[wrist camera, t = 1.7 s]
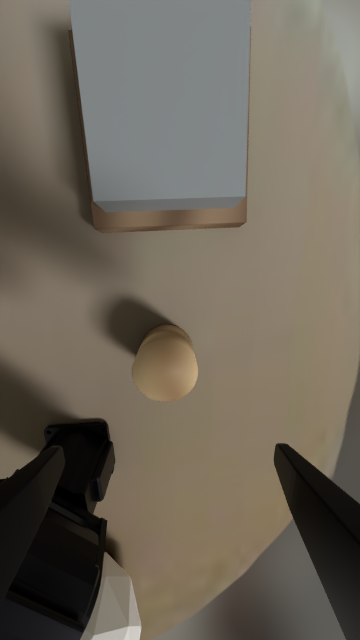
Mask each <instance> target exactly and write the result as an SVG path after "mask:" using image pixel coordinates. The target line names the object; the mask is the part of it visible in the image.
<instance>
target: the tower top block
mask: <svg viewBox="0 0 360 640" xmlns="http://www.w3.org/2000/svg"><path fill="white" fill-rule="evenodd" d="M69 7H70V15H71V24H72V32H73V40H74V48H75V56H76V64H77V72H78V80H79V88H80V97H81V105H82V113H83V121H84V129H85V137H86V145H87V153H88V162H89V170H90V178H91V186H92V194H93V202H95V203H96V204H97V205H98V206H99V207H100V208H101V209H102V210H104V211H105V212H131V211H160V210H189V209H219V208H235V207H236V206H237V205H238V204H239V203H240V202H241V201H242V199H243V198H244V197H245V195H246V161H247V128H248V94H249V60H250V26H251V0H69Z"/></svg>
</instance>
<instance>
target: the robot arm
mask: <svg viewBox="0 0 360 640" xmlns="http://www.w3.org/2000/svg"><path fill="white" fill-rule="evenodd" d="M102 427H104V428H102ZM49 430H50V431H49ZM44 434H45V439H46V443H47V444H46V445H45V447H44V448H43V449H42V451H41V452H40V453H39V455H38V456H37V457H36V458H35V459H33V460H32V461H31V462H29V463H28V464H27V465H25V466H24V467H23V468H21V469H20V470H18V469H17V470H16V471H15V472H14V474H13V475H12V476H11V477H9V478H8V477H7V478H6V479H0V640H80V639H81V637H82V635H83V633H84V631H85V629H86V627H87V624H88V622H89V620H90V617H91V615H92V612H93V609H94V606H95V603H96V600H97V597H98V593H99V589H100V585H101V578H102V570H103V559H104V549H105V538H106V528H107V520H105V519H104V518H99V517H97V516H95V515H94V514H93V513H94V510H95V507H96V504H97V502H100V501H102V500H103V499H104V496H105V493H106V490H107V486H108V483H109V480H110V477H111V474H112V473H113V471H114V464H115V455H114V448H113V443H112V441H110V435H109V428H108V424H107V423H105V422H97V423H80V424H64V425H50V426H48V427H47V428H46V429H45V430H44ZM274 465H275V468H276V471H277V474H278V477H279V480H280V483H281V486H282V488H283V491H284V494H285V497H286V500H287V503H288V506H289V509H290V511H291V514H292V516H293V518H294V520H295V523H296V525H297V528H298V530H299V532H300V535H301V537H302V539H303V541H304V544H305V546H306V548H307V550H308V553H309V555H310V558H311V560H312V562H313V564H314V567H315V569H316V571H317V574H318V576H319V578H320V580H321V583H322V585H323V587H324V590H325V592H326V594H327V597H328V599H329V601H330V603H331V606H332V608H333V610H334V613H335V615H336V617H337V620H338V622H339V624H340V626H341V629H342V631H343V633H344V636H345V638H346V640H360V504H359V503H358V502H357V501H356V500H354V499H353V498H352V497H350V495H348V494H347V493H346V492H345V491H343V490H342V489H341V488H340V487H339V486H337V485H336V484H335V483H334V482H333V481H331V480H330V479H329V478H328V477H327V476H325V475H324V474H323V473H322V472H320V471H319V470H318V469H317V468H316V467H314V466H313V465H312V464H311V463H310V462H308V461H307V460H306V459H305V458H303V457H302V456H301V455H300V454H299V453H297V452H296V451H295V450H294V449H293V448H291V447H290V446H289V445H288V444H285V443H278V444H276V446H275V453H274Z"/></svg>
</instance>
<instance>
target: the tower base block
mask: <svg viewBox="0 0 360 640" xmlns="http://www.w3.org/2000/svg"><path fill="white" fill-rule="evenodd" d="M68 31H69V39H70V47H71V54H72V62H73V70H74V77H75V85H76V93H77V100H78V108H79V116H80V124H81V131H82V139H83V147H84V154H85V162H86V170H87V177H88V185H89V193H90V201H91V208H92V216H93V224H94V229H96V230H98V231H100V232H101V233H113V232H136V231H159V230H183V229H206V228H230V227H240V226H241V225H243V224H244V223H246V216H247V175H248V134H249V94H248V128H247V161H246V195H245V197H244V198H243V199H242V201H241V202H240V203H239V204H238V205H237V206H236V207H235V208H219V209H189V210H160V211H131V212H105V211H104V210H102V209H101V208H100V207H99V206H98V205H97V204H96V203H95V202H93V194H92V186H91V178H90V170H89V162H88V153H87V145H86V137H85V129H84V121H83V113H82V105H81V97H80V88H79V80H78V72H77V64H76V56H75V48H74V40H73V32H72V30H68ZM250 51H251V26H250ZM249 93H250V60H249Z"/></svg>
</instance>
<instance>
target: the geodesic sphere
mask: <svg viewBox="0 0 360 640" xmlns="http://www.w3.org/2000/svg"><path fill="white" fill-rule="evenodd" d="M140 633H141V622H140V618H139V613H138V609H137V604H136V600H135V595H134V591H133V586H132V582H131V577H130V576H129V575H128V574H127V573H126V572H125V571H124V570H123V569H122V568H121V567H120V566H119V565H118V564H117V563H116V562H115V561H114V560H113V559H112V558H111V556H110V555H109V554H108V553H107V552H104V559H103V570H102V578H101V585H100V589H99V593H98V597H97V600H96V603H95V606H94V609H93V612H92V615H91V617H90V620H89V622H88V624H87V627H86V629H85V631H84V633H83V635H82V637H81V639H80V640H140Z"/></svg>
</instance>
